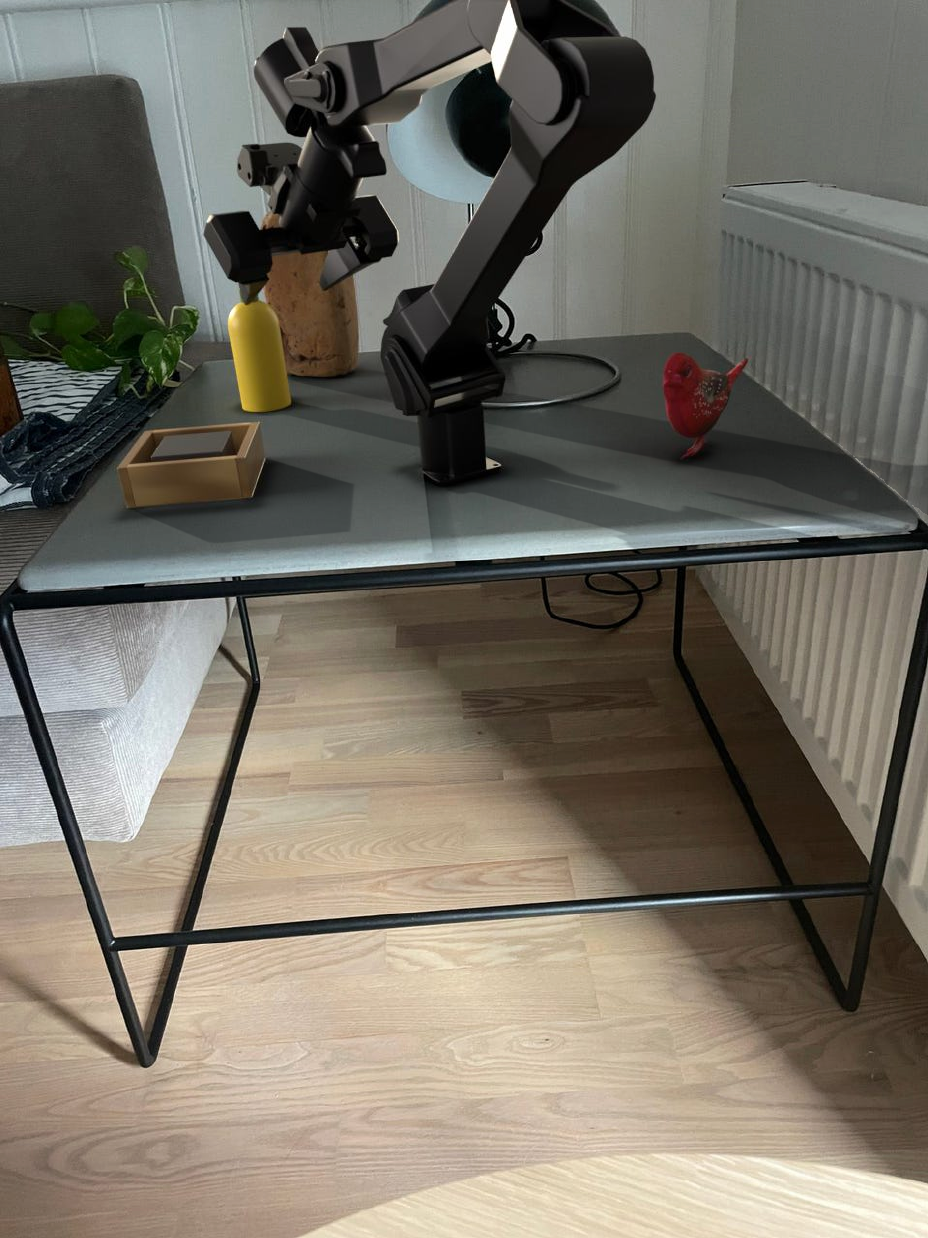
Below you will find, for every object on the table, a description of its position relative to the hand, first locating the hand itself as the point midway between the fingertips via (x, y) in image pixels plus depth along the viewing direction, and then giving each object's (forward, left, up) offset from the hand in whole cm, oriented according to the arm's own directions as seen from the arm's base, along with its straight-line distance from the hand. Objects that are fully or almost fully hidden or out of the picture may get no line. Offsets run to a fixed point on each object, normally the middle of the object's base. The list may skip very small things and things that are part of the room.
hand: (284, 293), depth 98 cm
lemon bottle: (+8, +1, -13) cm, 15 cm away
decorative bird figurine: (-36, -25, -13) cm, 46 cm away
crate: (-15, +16, -13) cm, 26 cm away
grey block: (-15, +16, -12) cm, 25 cm away
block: (+18, -10, -13) cm, 24 cm away
